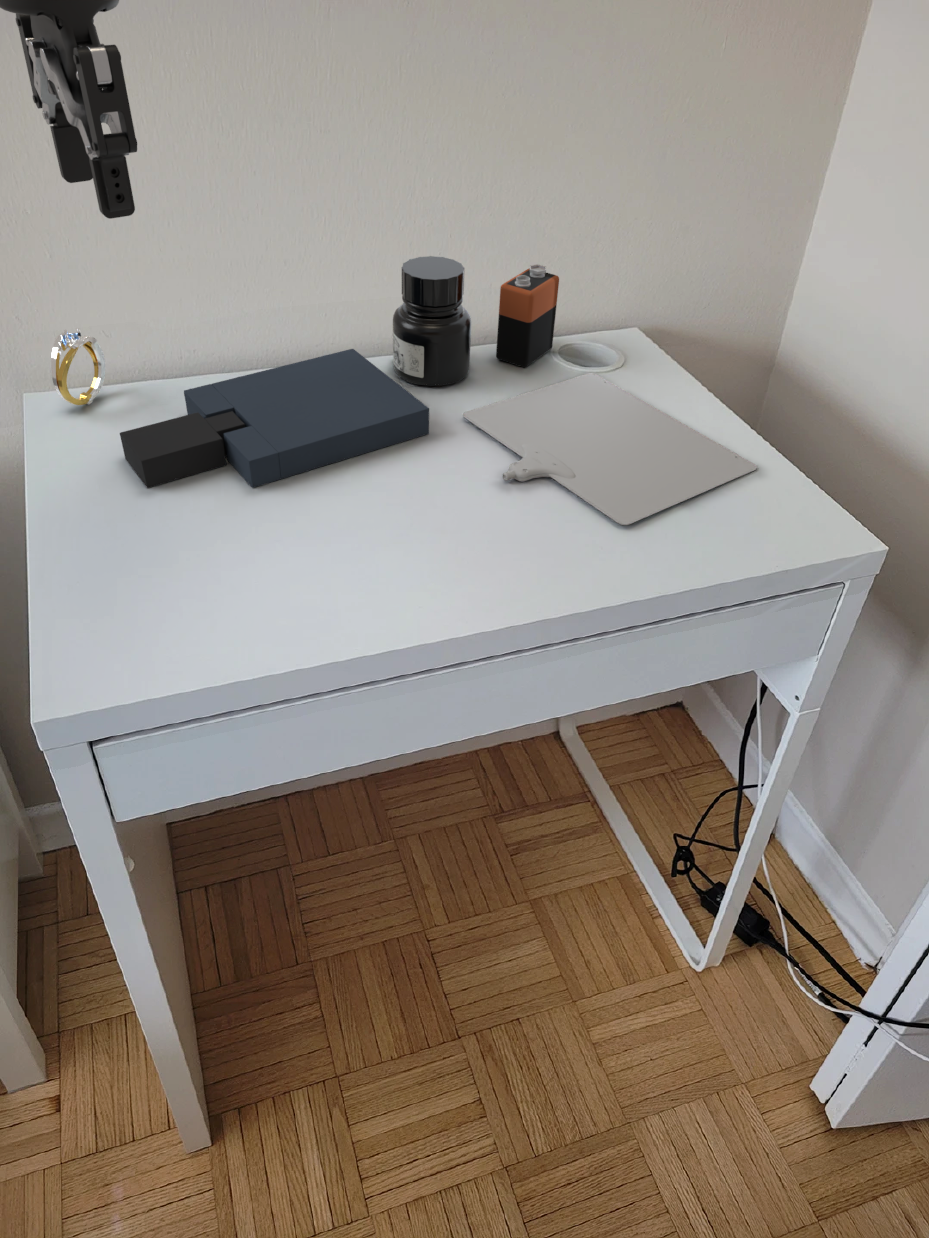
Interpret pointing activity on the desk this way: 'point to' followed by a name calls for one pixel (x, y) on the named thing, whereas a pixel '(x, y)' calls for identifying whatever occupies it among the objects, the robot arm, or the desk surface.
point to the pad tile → (178, 446)
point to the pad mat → (310, 415)
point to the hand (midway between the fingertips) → (98, 197)
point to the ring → (61, 371)
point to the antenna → (607, 447)
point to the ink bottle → (432, 323)
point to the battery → (527, 316)
